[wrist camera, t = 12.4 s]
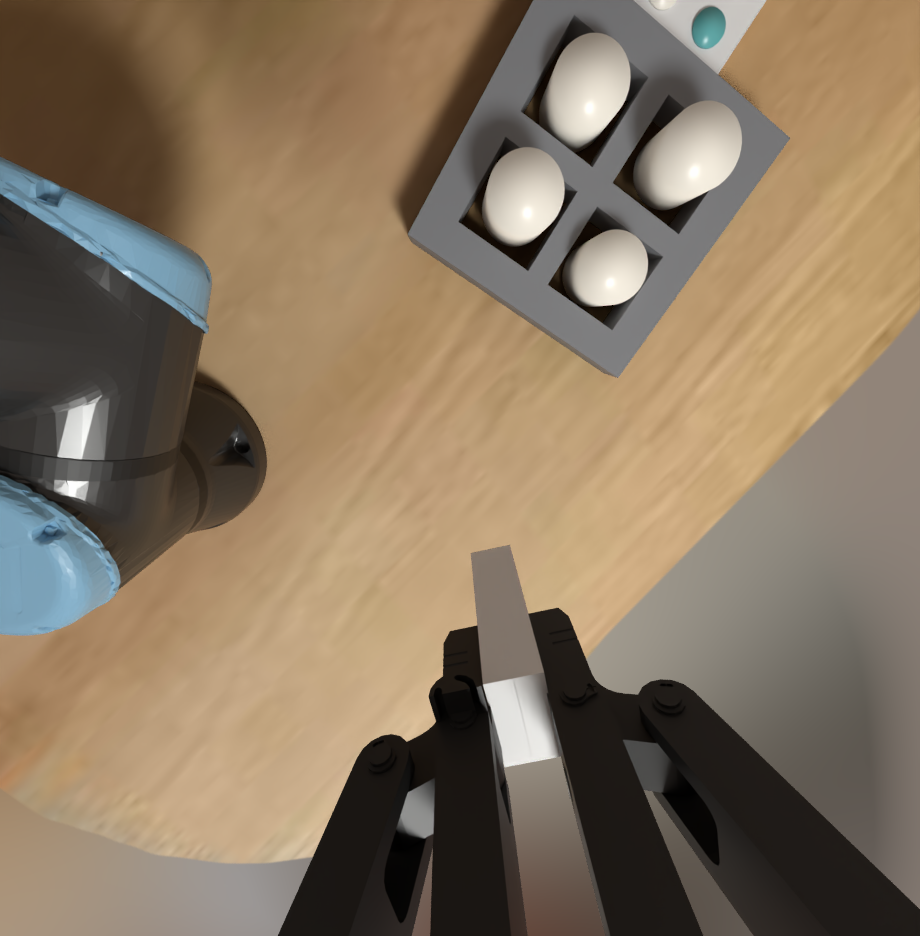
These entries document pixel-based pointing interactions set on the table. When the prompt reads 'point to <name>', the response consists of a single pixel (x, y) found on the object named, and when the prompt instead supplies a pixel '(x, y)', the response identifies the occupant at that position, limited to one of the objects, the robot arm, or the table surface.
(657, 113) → the board
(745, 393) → the table surface
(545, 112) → the button
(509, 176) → the button
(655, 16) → the card
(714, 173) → the button
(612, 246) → the button
